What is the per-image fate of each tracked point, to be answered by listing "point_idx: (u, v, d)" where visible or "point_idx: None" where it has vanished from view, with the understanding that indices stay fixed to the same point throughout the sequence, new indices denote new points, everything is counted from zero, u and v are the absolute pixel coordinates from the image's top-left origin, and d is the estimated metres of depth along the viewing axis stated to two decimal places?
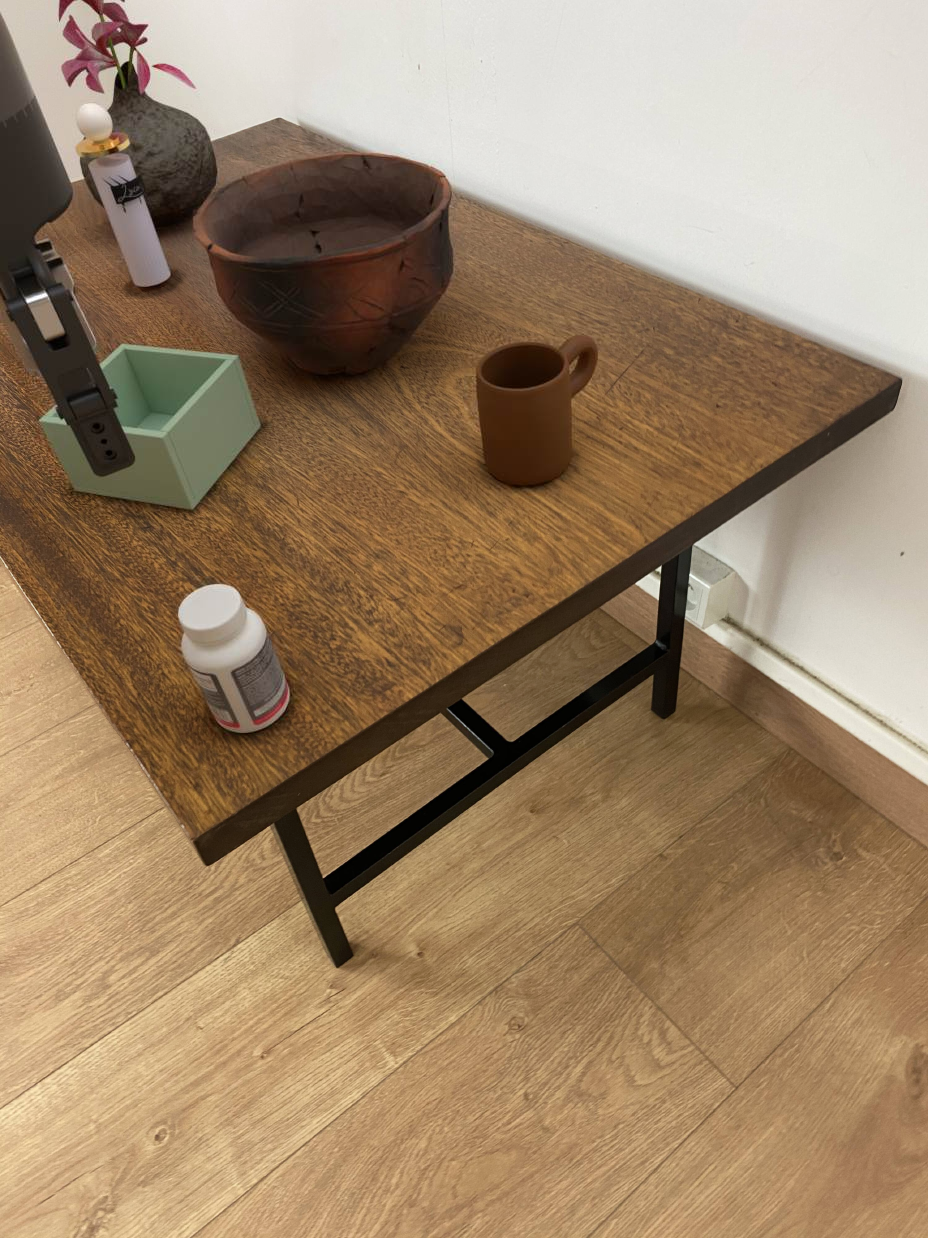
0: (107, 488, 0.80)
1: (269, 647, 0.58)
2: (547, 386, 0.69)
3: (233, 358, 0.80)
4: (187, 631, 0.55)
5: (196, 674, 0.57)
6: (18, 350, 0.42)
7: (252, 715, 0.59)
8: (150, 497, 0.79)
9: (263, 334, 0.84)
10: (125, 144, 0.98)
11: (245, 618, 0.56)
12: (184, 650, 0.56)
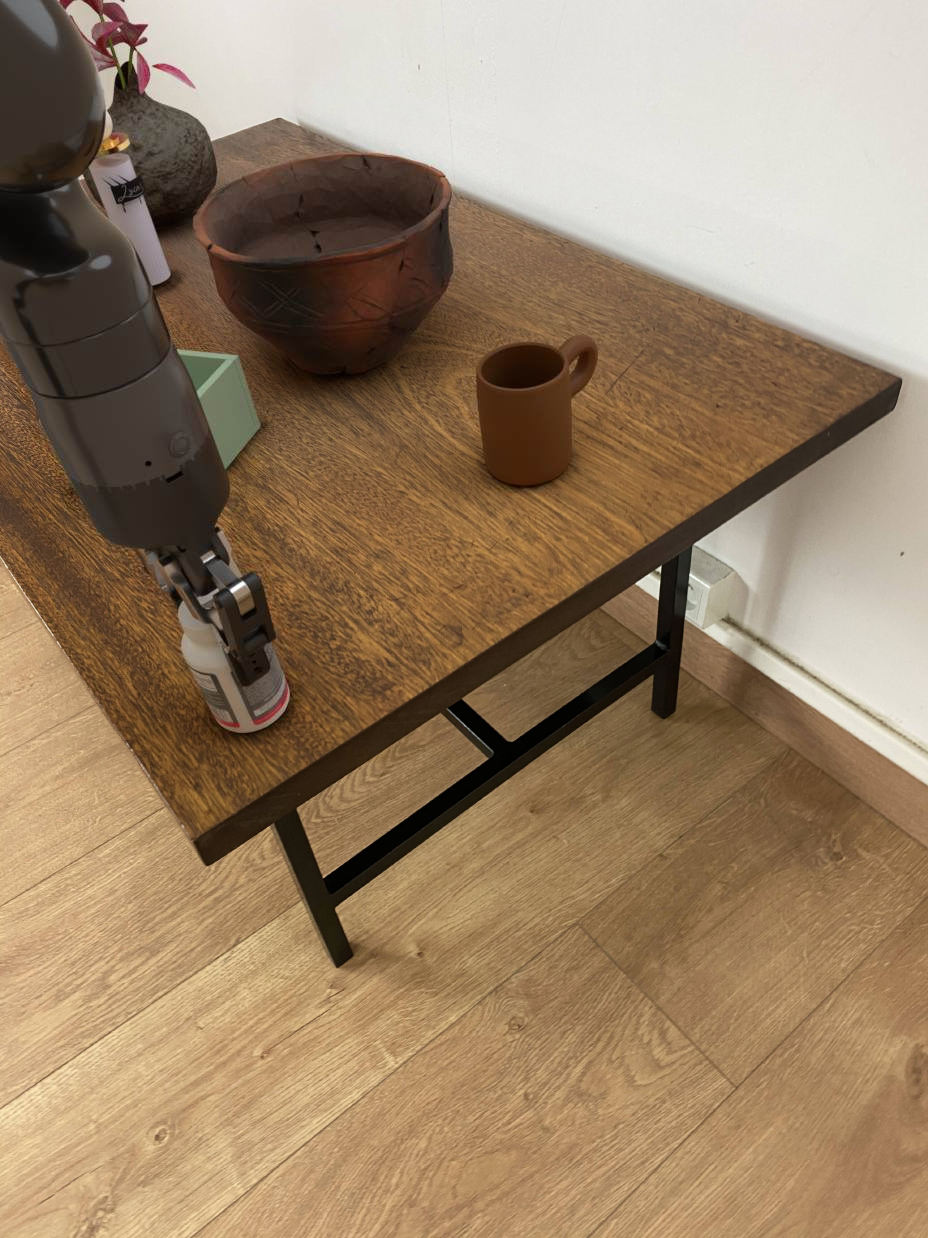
0: None
1: (269, 647, 0.58)
2: (547, 386, 0.69)
3: (233, 358, 0.80)
4: (187, 631, 0.55)
5: (196, 674, 0.57)
6: (195, 611, 0.51)
7: (252, 715, 0.59)
8: None
9: (263, 334, 0.84)
10: (125, 144, 0.98)
11: None
12: (184, 649, 0.56)
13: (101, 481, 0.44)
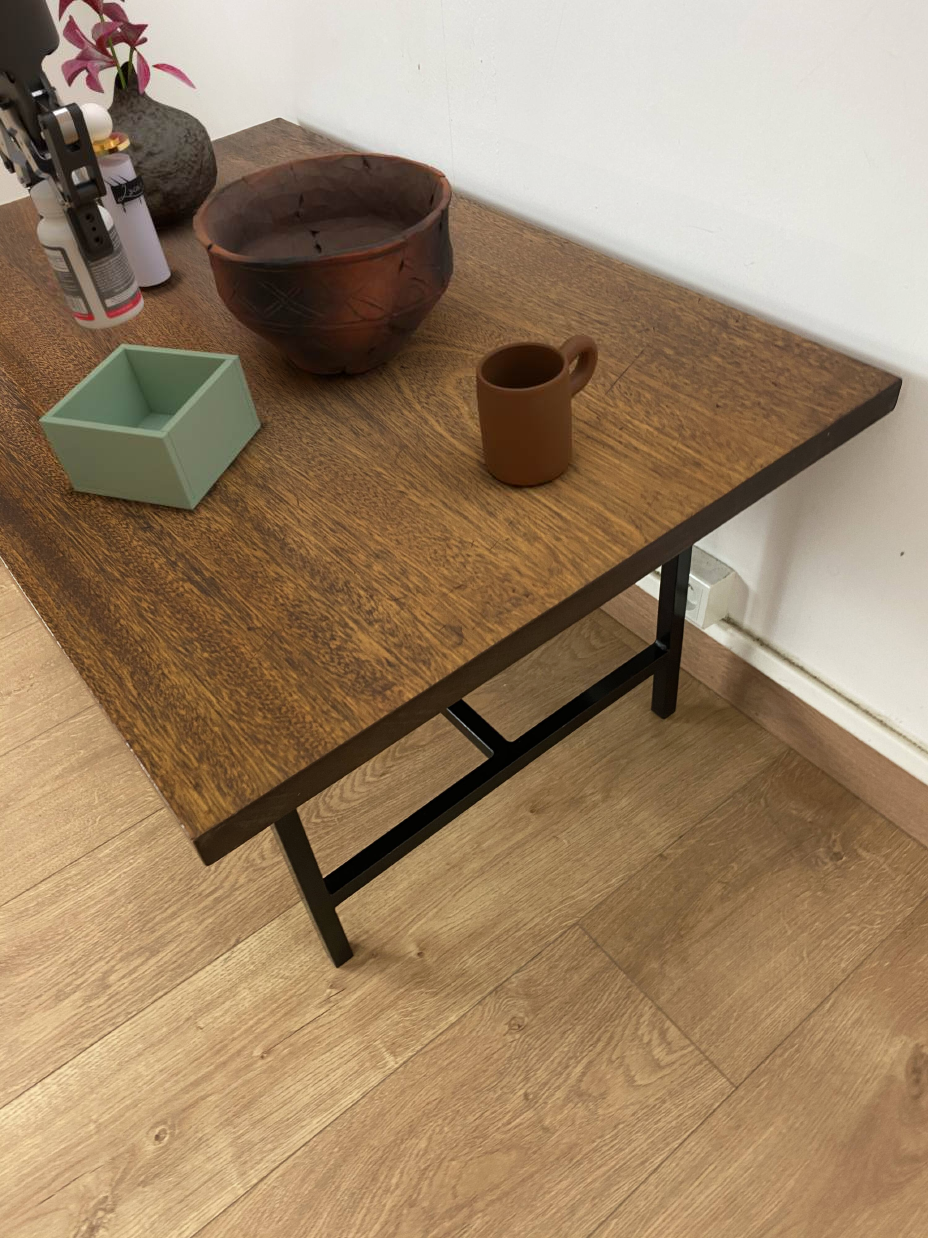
0: (107, 488, 0.80)
1: (117, 239, 0.66)
2: (547, 386, 0.69)
3: (233, 358, 0.80)
4: (37, 202, 0.63)
5: (49, 253, 0.65)
6: (33, 157, 0.59)
7: (104, 305, 0.67)
8: (150, 497, 0.79)
9: (263, 334, 0.84)
10: (125, 144, 0.98)
11: None
12: (38, 229, 0.65)
13: None
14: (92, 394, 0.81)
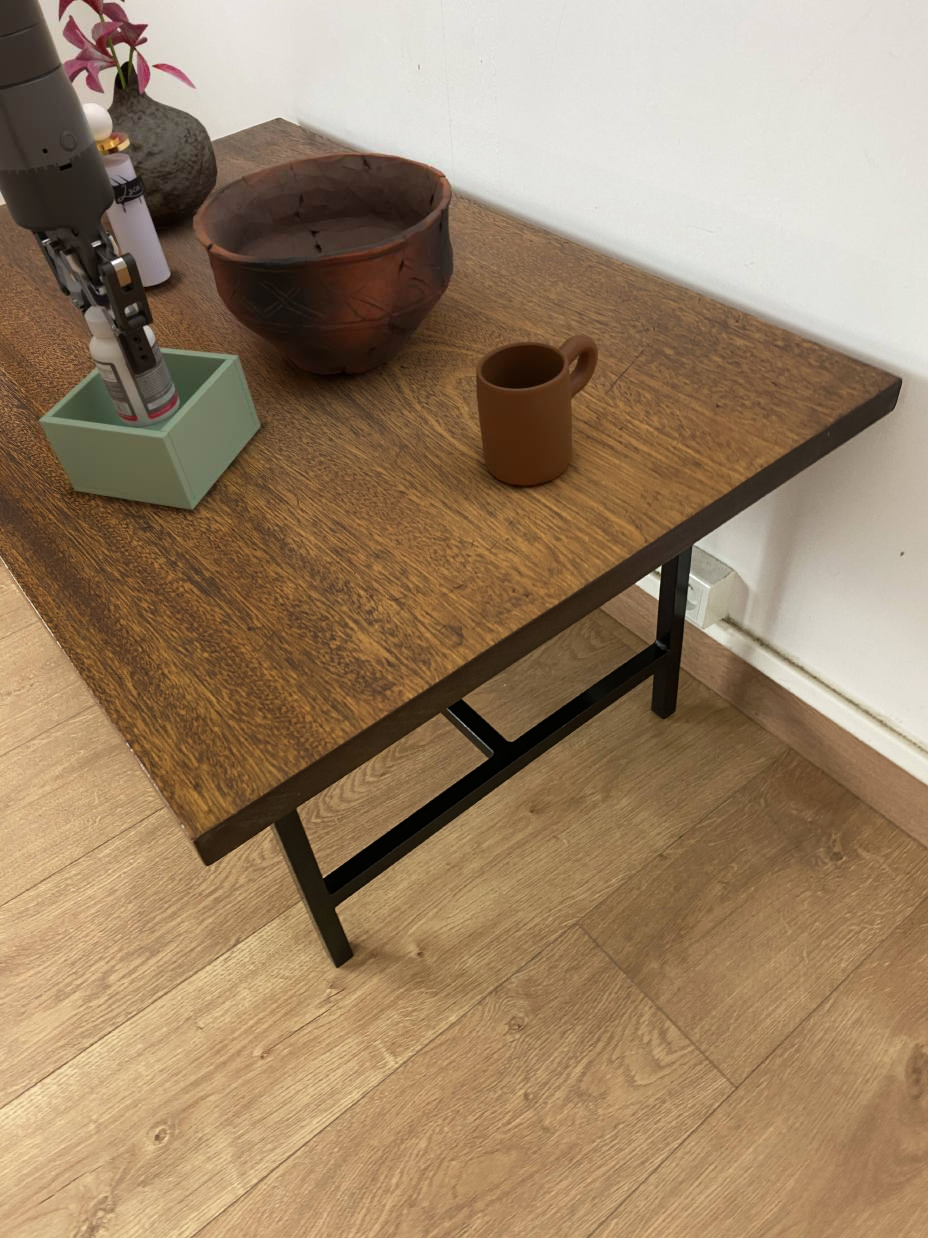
0: (107, 488, 0.80)
1: (158, 352, 0.76)
2: (547, 386, 0.69)
3: (233, 358, 0.80)
4: (91, 325, 0.73)
5: (100, 366, 0.75)
6: (91, 294, 0.69)
7: (146, 408, 0.77)
8: (150, 497, 0.79)
9: (263, 334, 0.84)
10: (125, 144, 0.98)
11: None
12: (90, 346, 0.74)
13: (12, 164, 0.62)
14: (92, 394, 0.81)
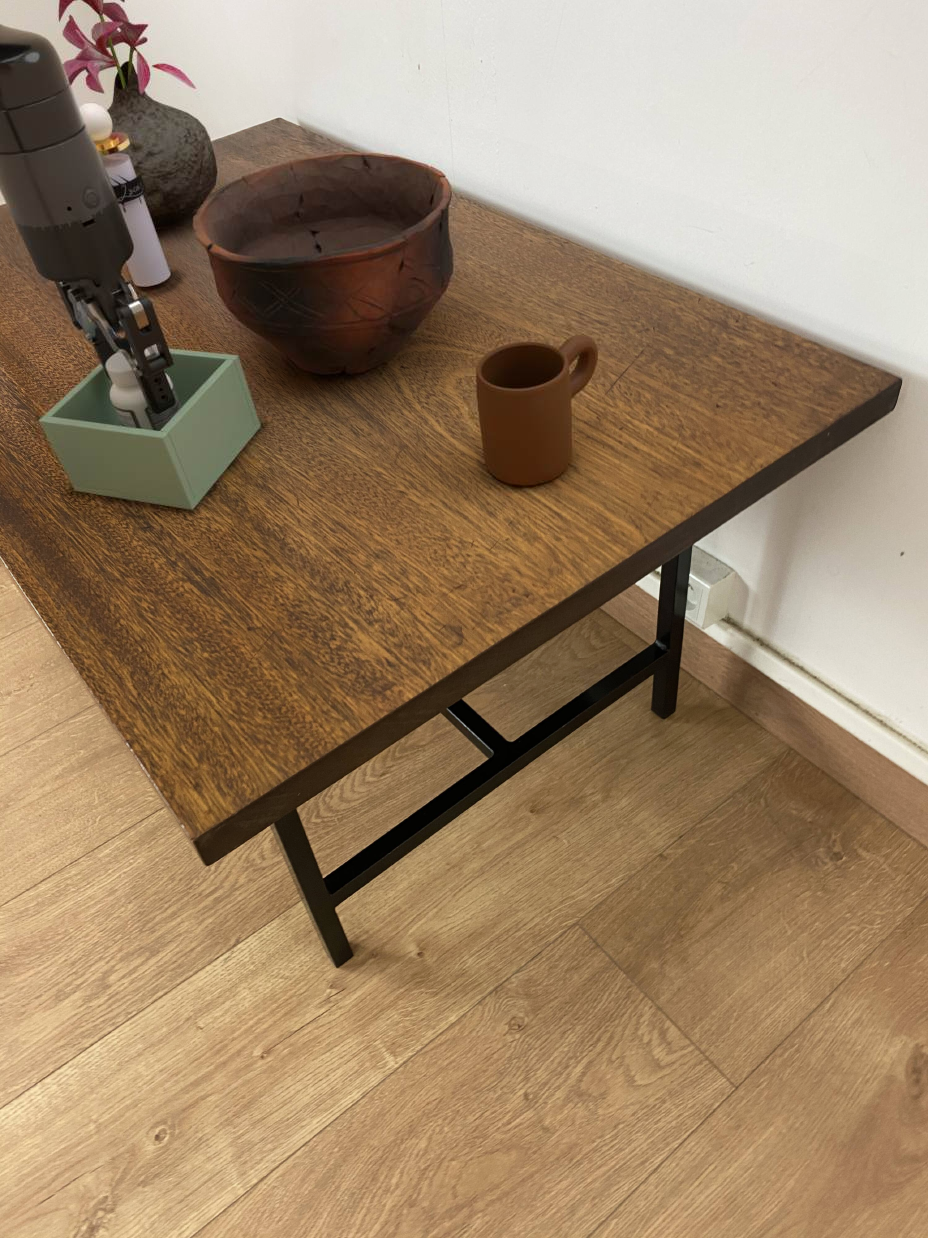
0: (107, 488, 0.80)
1: (175, 398, 0.79)
2: (547, 386, 0.69)
3: (233, 358, 0.80)
4: (112, 375, 0.76)
5: (120, 413, 0.78)
6: (111, 338, 0.71)
7: None
8: (150, 497, 0.79)
9: (263, 334, 0.84)
10: (125, 144, 0.98)
11: None
12: (111, 394, 0.77)
13: (37, 221, 0.64)
14: (92, 394, 0.81)
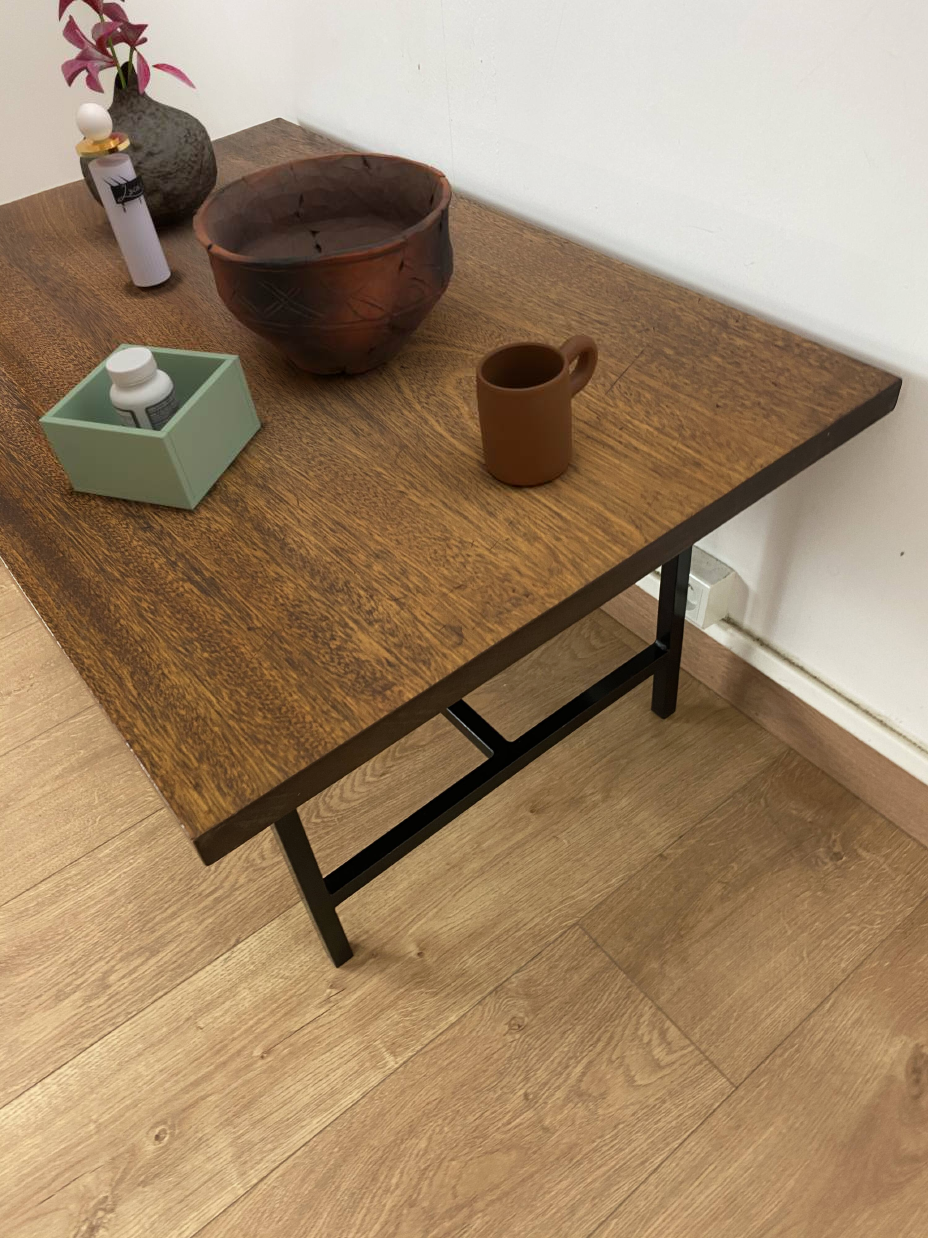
0: (107, 488, 0.80)
1: (175, 398, 0.79)
2: (547, 386, 0.69)
3: (233, 358, 0.80)
4: (112, 375, 0.76)
5: (120, 413, 0.78)
6: None
7: None
8: (150, 497, 0.79)
9: (263, 334, 0.84)
10: (125, 144, 0.98)
11: (155, 369, 0.77)
12: (111, 394, 0.77)
13: None
14: (92, 394, 0.81)
